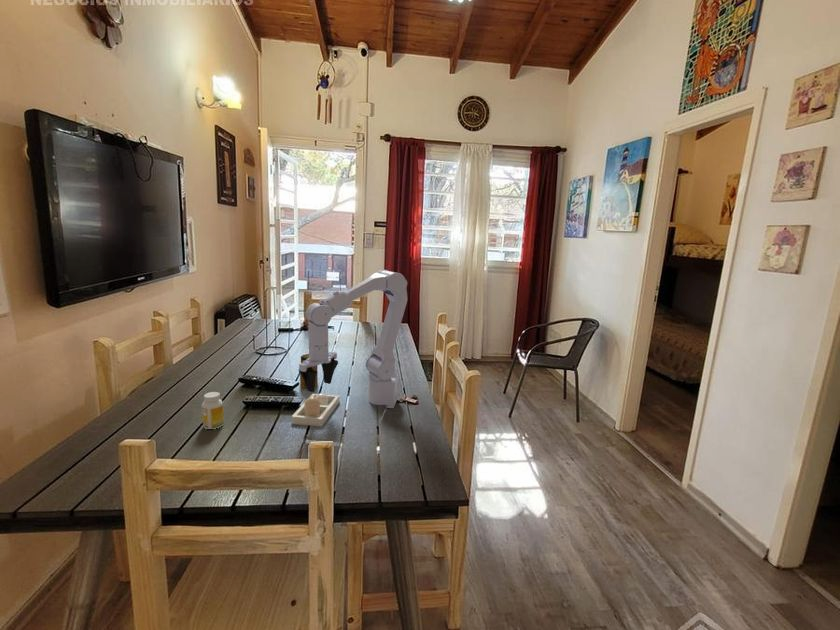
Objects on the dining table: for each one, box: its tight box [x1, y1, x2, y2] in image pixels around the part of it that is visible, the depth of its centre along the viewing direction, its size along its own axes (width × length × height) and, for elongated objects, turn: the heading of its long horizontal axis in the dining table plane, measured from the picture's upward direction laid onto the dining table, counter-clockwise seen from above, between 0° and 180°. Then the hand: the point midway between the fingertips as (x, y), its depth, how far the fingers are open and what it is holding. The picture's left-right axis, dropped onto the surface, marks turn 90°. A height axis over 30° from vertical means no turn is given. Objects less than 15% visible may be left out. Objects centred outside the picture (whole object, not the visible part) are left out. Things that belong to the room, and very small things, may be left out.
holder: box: [291, 393, 340, 427], centre depth 127 cm, size 9×17×3 cm, turn 174°
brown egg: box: [304, 396, 320, 417], centre depth 123 cm, size 4×4×7 cm
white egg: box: [316, 392, 328, 406], centre depth 131 cm, size 4×4×4 cm
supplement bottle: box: [201, 391, 225, 430], centre depth 117 cm, size 5×5×10 cm
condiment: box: [299, 353, 319, 390], centre depth 147 cm, size 7×8×12 cm
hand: (319, 387), depth 125 cm, fingers open, 7 cm apart
